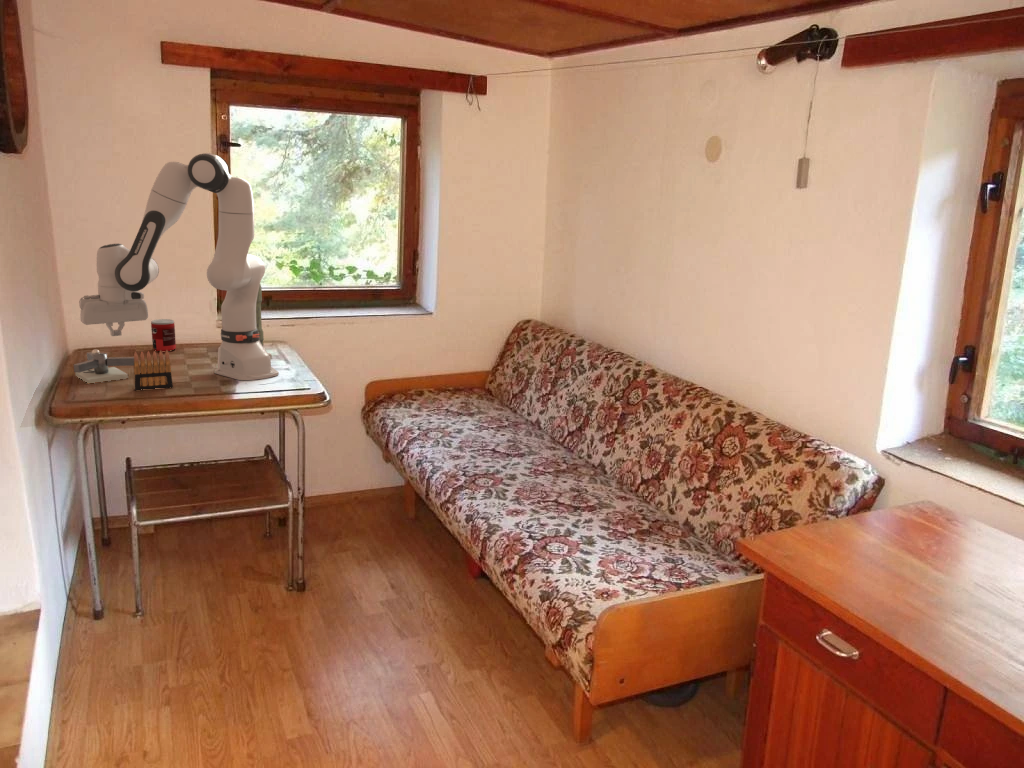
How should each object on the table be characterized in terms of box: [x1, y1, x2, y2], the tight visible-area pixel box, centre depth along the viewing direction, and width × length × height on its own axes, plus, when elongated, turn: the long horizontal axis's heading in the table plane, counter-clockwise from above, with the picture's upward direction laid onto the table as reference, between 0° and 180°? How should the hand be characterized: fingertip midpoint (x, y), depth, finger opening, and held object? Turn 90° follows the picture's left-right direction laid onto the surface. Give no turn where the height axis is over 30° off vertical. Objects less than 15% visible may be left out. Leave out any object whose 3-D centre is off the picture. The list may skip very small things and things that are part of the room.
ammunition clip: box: [133, 350, 174, 391], centre depth 249 cm, size 11×2×12 cm, turn 118°
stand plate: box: [74, 366, 129, 384], centre depth 260 cm, size 12×12×2 cm
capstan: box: [73, 348, 134, 374], centre depth 261 cm, size 16×18×7 cm
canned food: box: [150, 318, 177, 352], centre depth 300 cm, size 8×8×11 cm
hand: (116, 335), depth 268 cm, fingers closed
